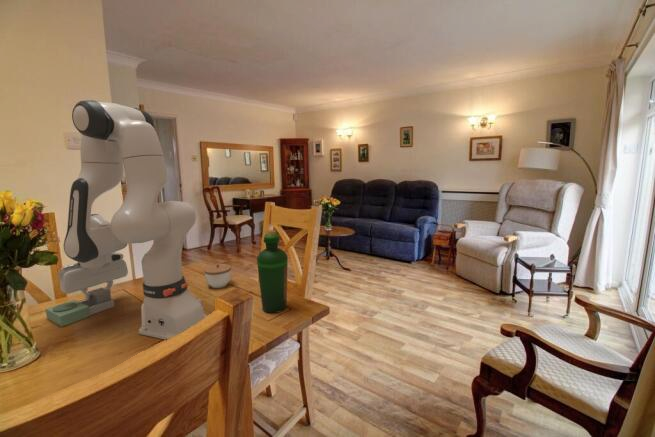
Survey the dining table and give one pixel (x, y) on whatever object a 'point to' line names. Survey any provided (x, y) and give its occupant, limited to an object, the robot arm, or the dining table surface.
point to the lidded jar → (218, 275)
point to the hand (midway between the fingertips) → (98, 295)
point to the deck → (75, 311)
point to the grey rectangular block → (99, 296)
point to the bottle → (272, 274)
